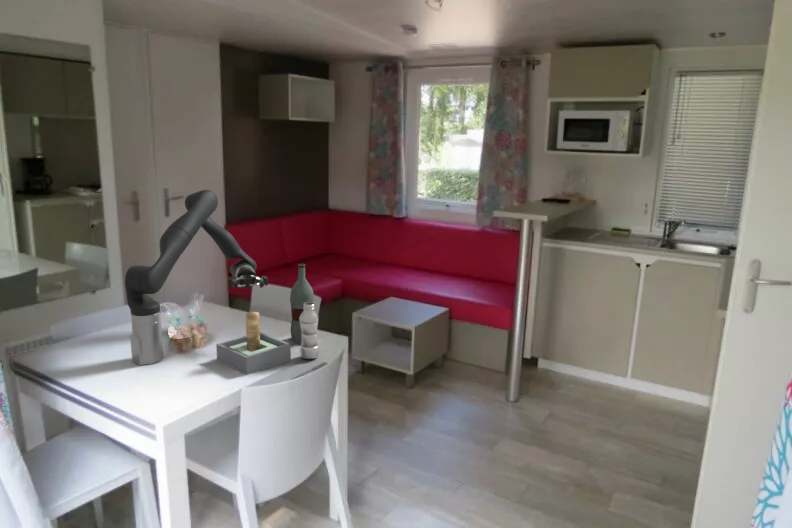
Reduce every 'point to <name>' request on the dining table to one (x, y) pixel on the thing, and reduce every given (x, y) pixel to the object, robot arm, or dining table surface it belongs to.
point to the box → (256, 360)
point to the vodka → (299, 302)
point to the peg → (253, 331)
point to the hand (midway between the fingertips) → (249, 285)
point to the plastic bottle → (309, 332)
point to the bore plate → (243, 350)
